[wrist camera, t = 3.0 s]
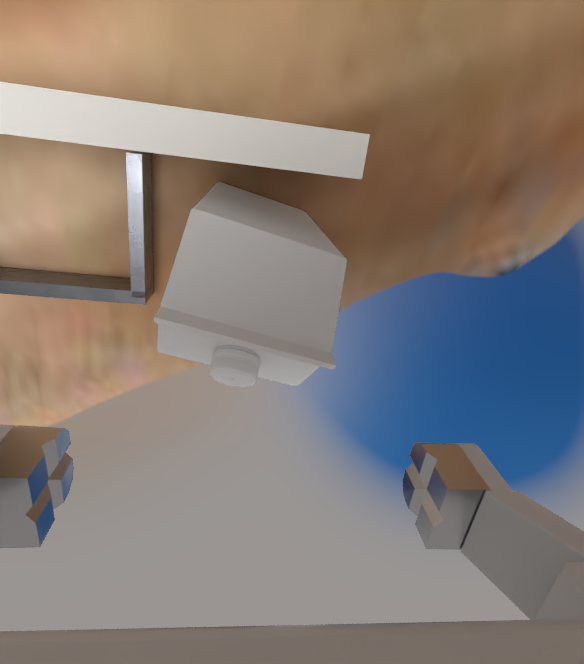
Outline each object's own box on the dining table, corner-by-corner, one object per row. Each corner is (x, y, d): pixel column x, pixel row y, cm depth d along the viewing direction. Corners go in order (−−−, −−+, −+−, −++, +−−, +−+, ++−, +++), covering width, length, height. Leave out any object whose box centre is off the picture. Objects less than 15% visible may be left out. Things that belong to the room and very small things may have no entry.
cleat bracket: (151, 153, 29) (141, 154, 27) (154, 291, 34) (145, 304, 31) (-47, 128, 28) (-80, 126, 25) (-19, 277, 32) (-44, 289, 29)
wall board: (326, 139, 30) (369, 134, 19) (322, 168, 31) (361, 179, 20) (-64, 85, 27) (-281, 41, 16) (-57, 119, 27) (-260, 100, 16)
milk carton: (218, 180, 31) (175, 223, 13) (306, 211, 32) (371, 285, 15) (195, 268, 33) (135, 400, 16) (278, 293, 35) (305, 438, 17)
